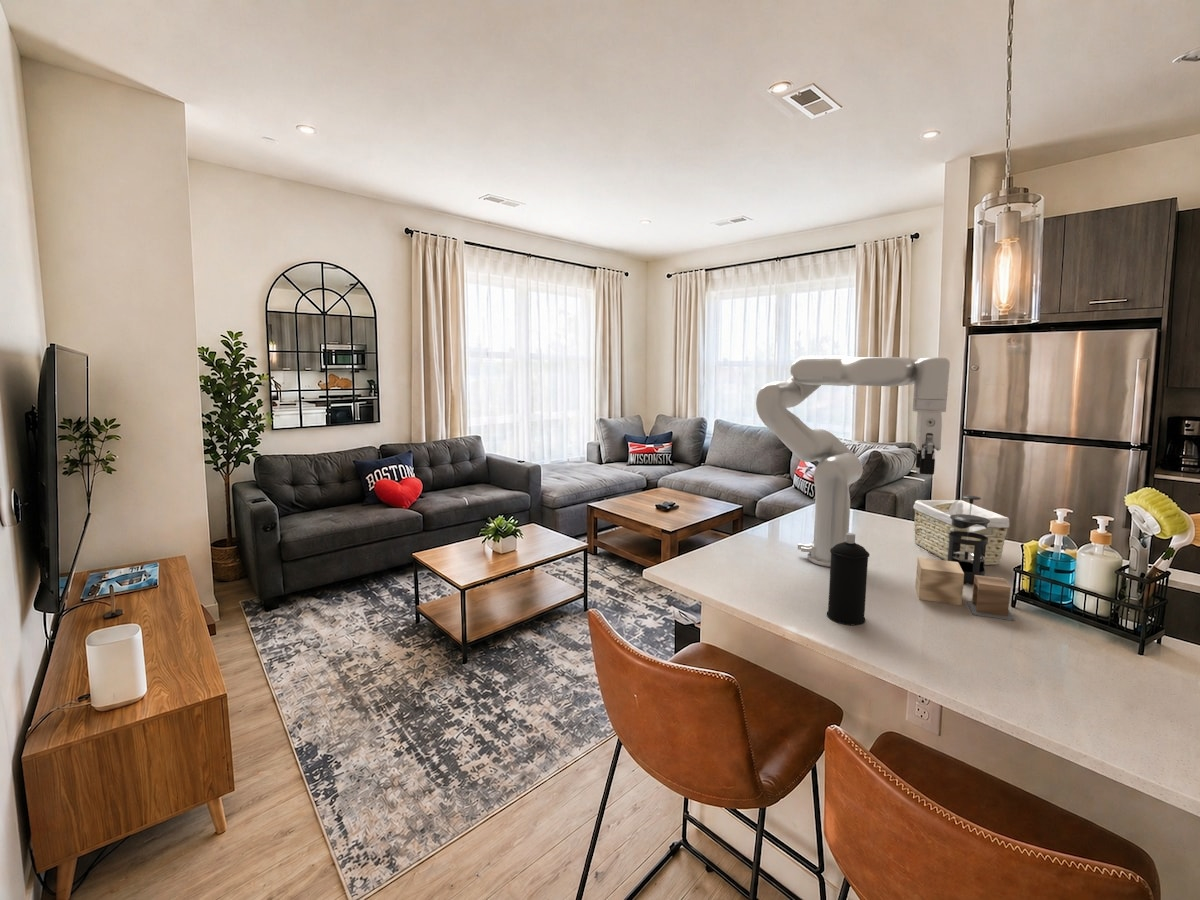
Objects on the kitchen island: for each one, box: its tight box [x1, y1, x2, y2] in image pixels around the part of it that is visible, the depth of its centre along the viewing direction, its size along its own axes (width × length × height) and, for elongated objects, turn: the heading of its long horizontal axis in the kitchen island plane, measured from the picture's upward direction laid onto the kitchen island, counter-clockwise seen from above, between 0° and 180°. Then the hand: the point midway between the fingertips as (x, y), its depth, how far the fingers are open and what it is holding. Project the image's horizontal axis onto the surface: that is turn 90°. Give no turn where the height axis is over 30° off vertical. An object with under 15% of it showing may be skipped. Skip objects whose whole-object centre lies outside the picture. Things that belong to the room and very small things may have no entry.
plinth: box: [915, 556, 964, 606], centre depth 140 cm, size 9×9×8 cm
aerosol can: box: [826, 532, 870, 626], centre depth 127 cm, size 8×8×20 cm
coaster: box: [966, 599, 1016, 622], centre depth 131 cm, size 8×8×1 cm
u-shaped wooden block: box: [971, 575, 1011, 616], centre depth 131 cm, size 6×6×7 cm
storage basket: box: [913, 499, 1010, 566], centre depth 171 cm, size 24×16×15 cm
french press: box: [948, 495, 990, 585], centre depth 150 cm, size 12×9×23 cm
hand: (924, 470), depth 146 cm, fingers open, 9 cm apart
